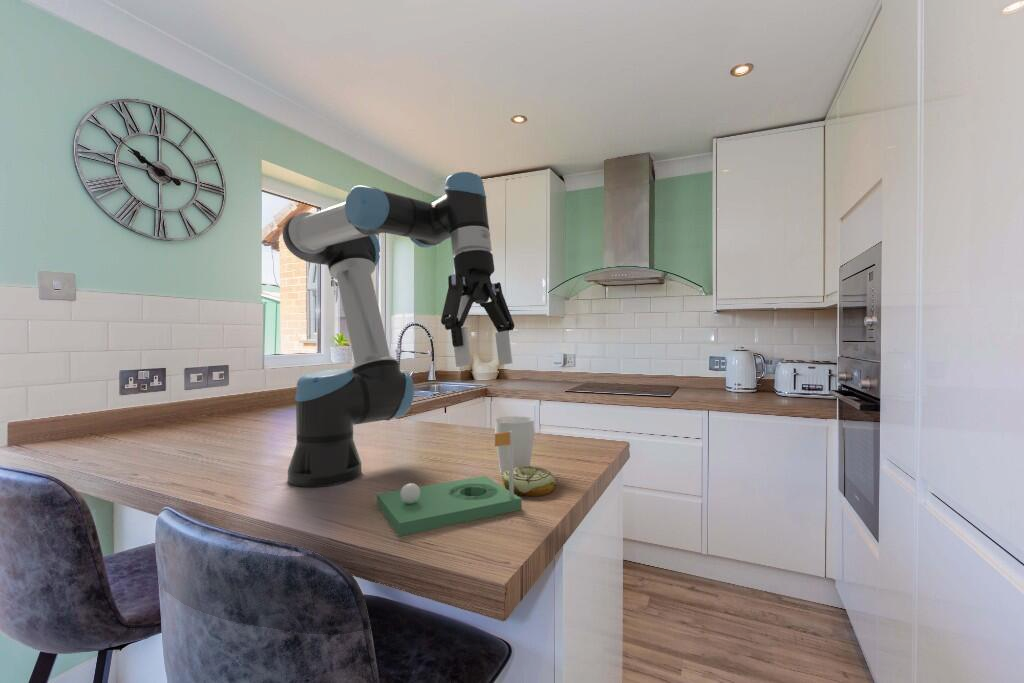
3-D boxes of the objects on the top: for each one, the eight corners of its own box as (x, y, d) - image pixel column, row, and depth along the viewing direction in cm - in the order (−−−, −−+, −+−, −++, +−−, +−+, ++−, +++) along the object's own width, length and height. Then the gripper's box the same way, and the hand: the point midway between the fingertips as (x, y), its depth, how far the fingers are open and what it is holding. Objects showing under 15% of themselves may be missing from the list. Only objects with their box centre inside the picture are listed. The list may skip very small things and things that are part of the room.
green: (377, 504, 83) (376, 428, 83) (484, 485, 94) (484, 418, 94) (399, 536, 70) (399, 446, 70) (521, 509, 81) (521, 431, 81)
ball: (398, 501, 79) (397, 482, 79) (416, 498, 81) (416, 479, 81) (403, 508, 76) (403, 488, 76) (422, 504, 78) (422, 484, 78)
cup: (518, 481, 97) (518, 425, 97) (486, 473, 102) (486, 420, 102) (541, 471, 104) (541, 419, 104) (510, 464, 110) (510, 414, 109)
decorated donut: (525, 503, 85) (525, 482, 85) (492, 487, 93) (492, 469, 93) (565, 491, 91) (565, 472, 91) (531, 477, 100) (531, 460, 100)
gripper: (445, 234, 74) (460, 363, 72) (522, 261, 95) (535, 361, 93) (412, 246, 78) (425, 369, 75) (493, 269, 99) (505, 366, 97)
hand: (486, 365), depth 84 cm, fingers open, 13 cm apart
